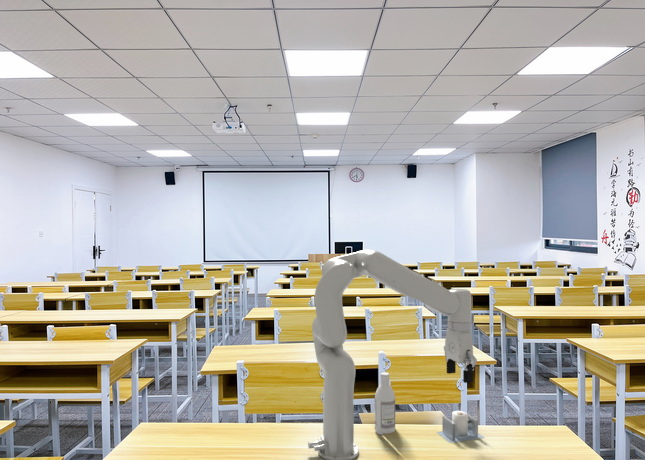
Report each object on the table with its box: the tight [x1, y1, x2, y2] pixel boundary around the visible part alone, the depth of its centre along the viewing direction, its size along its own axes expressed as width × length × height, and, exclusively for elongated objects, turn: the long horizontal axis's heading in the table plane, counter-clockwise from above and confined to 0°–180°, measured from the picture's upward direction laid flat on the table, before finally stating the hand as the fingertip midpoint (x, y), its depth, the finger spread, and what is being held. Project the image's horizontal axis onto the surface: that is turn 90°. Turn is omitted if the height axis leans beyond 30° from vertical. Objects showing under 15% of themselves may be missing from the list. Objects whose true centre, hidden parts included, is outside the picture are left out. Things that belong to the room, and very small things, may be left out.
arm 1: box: [441, 415, 455, 441], centre depth 146 cm, size 2×6×6 cm, turn 17°
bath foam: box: [374, 372, 396, 436], centre depth 152 cm, size 7×7×20 cm
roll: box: [451, 410, 469, 437], centre depth 147 cm, size 5×5×7 cm
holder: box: [436, 430, 485, 444], centre depth 147 cm, size 13×8×2 cm, turn 107°
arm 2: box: [466, 412, 479, 437], centre depth 148 cm, size 2×6×6 cm, turn 17°
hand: (459, 377), depth 148 cm, fingers open, 9 cm apart
